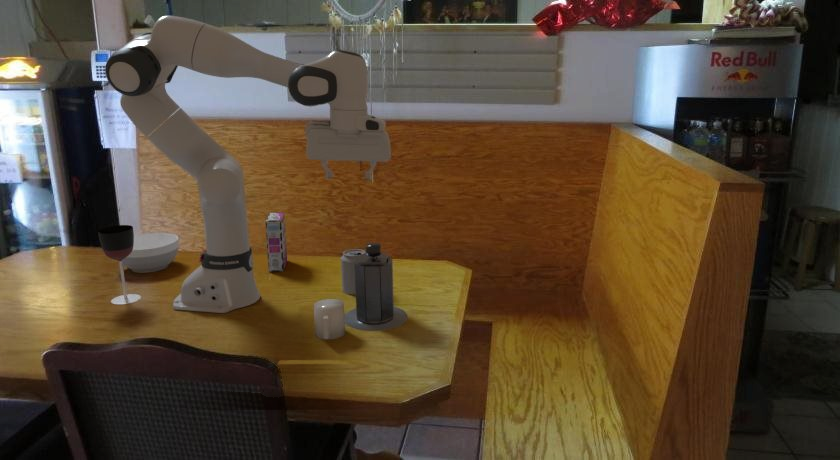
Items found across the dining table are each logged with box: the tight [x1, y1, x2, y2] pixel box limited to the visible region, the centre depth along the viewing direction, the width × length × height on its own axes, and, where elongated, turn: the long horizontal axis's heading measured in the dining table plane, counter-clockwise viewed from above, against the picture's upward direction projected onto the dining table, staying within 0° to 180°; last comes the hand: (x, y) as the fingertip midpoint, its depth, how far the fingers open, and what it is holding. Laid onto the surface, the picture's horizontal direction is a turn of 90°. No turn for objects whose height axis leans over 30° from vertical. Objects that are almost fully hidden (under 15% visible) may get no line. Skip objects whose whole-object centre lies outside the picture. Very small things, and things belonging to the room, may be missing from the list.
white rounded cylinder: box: [313, 298, 346, 340], centre depth 144 cm, size 7×9×8 cm
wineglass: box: [97, 224, 142, 305], centre depth 167 cm, size 8×9×20 cm
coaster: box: [344, 306, 408, 332], centre depth 154 cm, size 16×16×1 cm
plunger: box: [365, 242, 382, 266], centre depth 151 cm, size 6×6×13 cm
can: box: [340, 248, 366, 296], centre depth 171 cm, size 8×8×12 cm
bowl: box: [122, 232, 180, 274], centre depth 195 cm, size 19×19×9 cm
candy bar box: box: [265, 212, 288, 273], centre depth 193 cm, size 11×5×16 cm, turn 6°
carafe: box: [355, 253, 395, 325], centre depth 153 cm, size 9×12×16 cm
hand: (348, 178), depth 150 cm, fingers open, 8 cm apart
